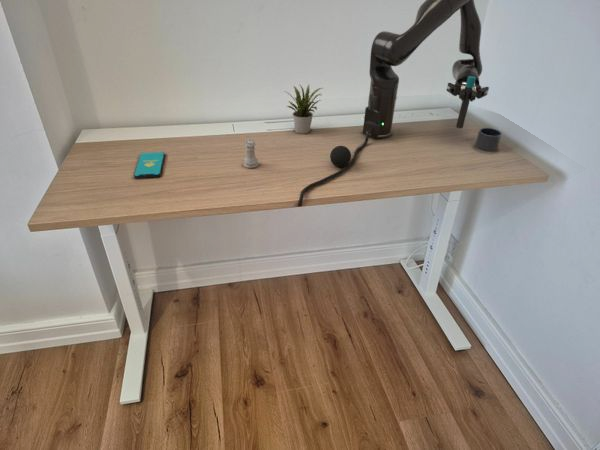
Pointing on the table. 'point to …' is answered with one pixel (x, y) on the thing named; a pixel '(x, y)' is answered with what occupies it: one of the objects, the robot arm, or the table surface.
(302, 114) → the house plant
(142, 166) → the passport
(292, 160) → the table surface
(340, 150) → the black round ball
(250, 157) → the rook chess piece
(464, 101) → the marker
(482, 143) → the pen cup
